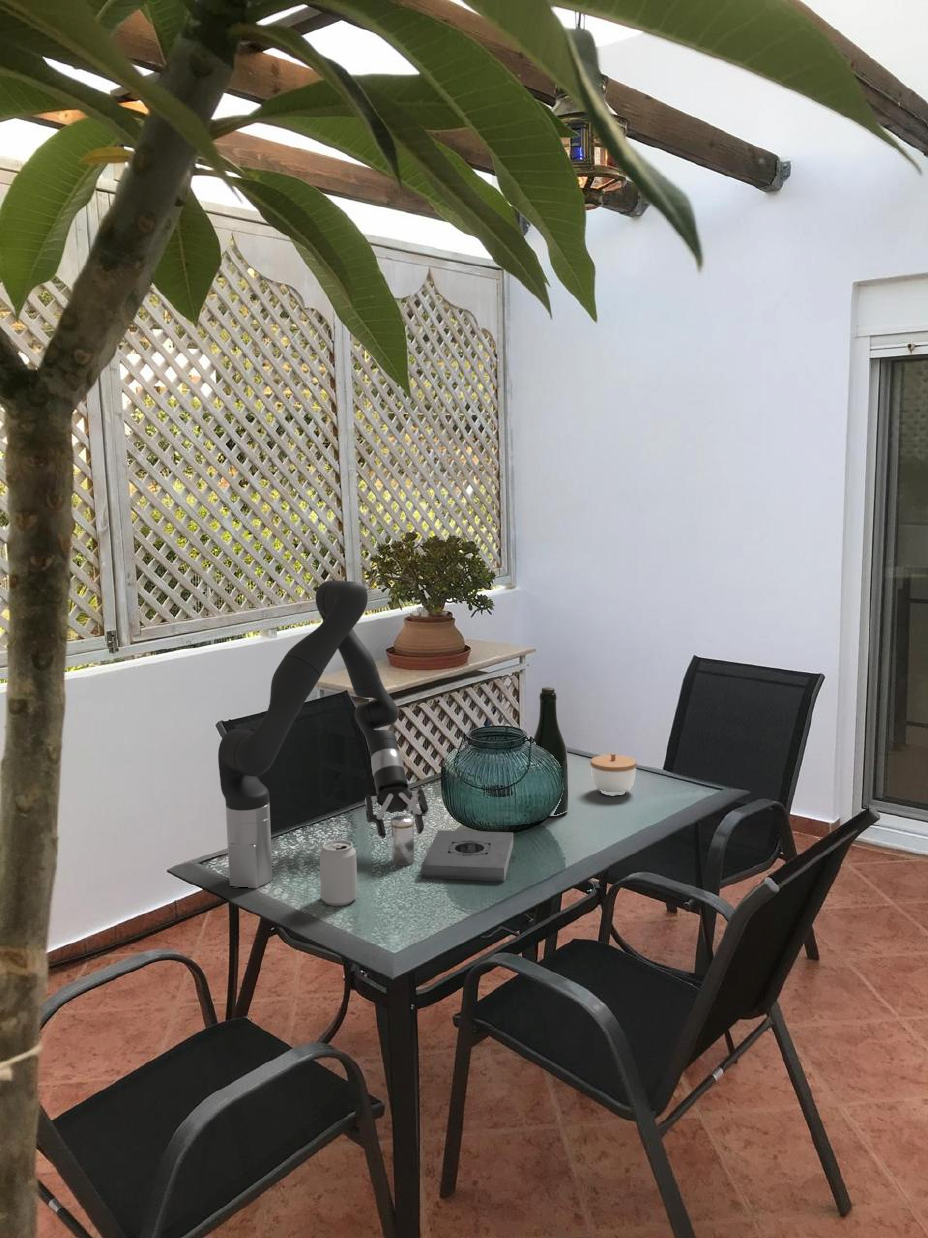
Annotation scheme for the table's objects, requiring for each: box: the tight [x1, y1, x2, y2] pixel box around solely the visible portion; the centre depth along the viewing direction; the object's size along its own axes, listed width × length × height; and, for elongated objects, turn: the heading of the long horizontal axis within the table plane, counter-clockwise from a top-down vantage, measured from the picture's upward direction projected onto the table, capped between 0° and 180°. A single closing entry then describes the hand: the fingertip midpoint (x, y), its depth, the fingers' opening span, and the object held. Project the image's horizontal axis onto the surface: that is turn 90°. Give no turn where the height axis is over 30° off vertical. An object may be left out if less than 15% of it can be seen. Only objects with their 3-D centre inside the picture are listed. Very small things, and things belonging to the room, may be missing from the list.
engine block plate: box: [421, 829, 514, 882], centre depth 220 cm, size 22×18×3 cm
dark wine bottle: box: [532, 686, 570, 815], centre depth 251 cm, size 10×10×33 cm
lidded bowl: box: [590, 752, 637, 792], centre depth 268 cm, size 13×13×11 cm
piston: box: [390, 815, 415, 867], centre depth 220 cm, size 5×5×10 cm
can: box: [318, 839, 358, 907], centre depth 199 cm, size 8×8×12 cm
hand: (402, 834), depth 220 cm, fingers open, 8 cm apart
